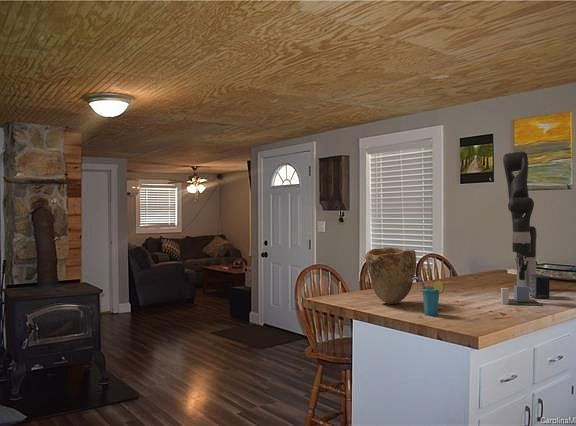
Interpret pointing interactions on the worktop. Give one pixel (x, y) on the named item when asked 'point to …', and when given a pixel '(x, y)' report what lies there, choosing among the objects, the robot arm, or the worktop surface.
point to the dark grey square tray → (524, 303)
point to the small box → (539, 286)
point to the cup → (431, 297)
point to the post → (504, 296)
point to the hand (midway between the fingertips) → (521, 279)
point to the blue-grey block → (521, 293)
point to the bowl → (391, 272)
